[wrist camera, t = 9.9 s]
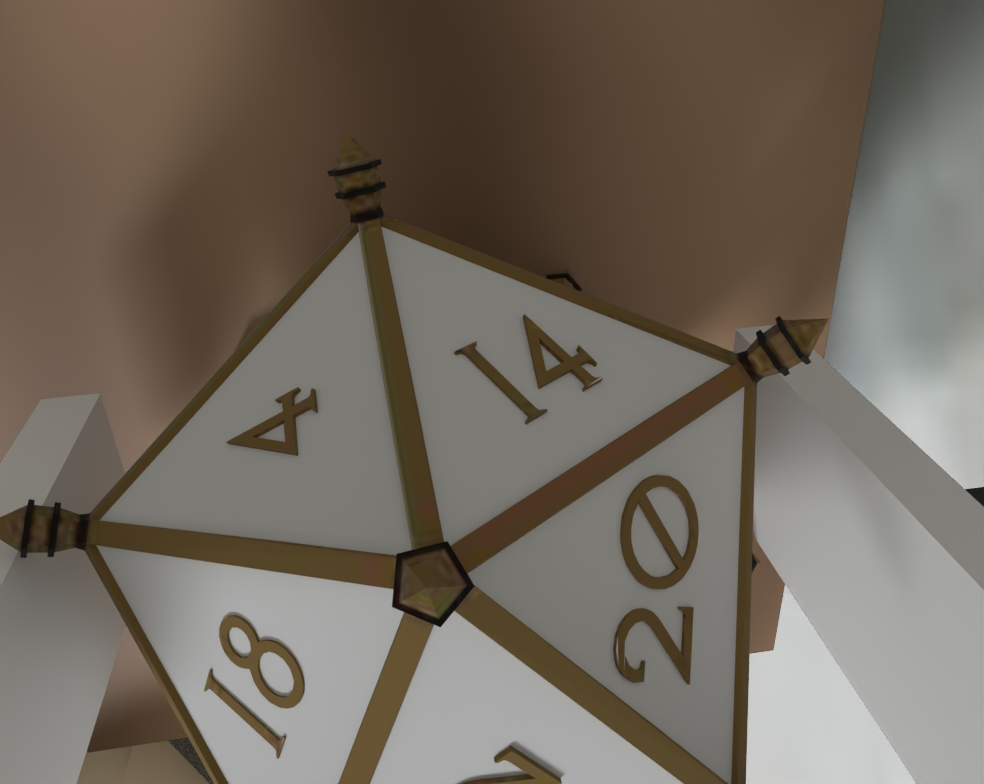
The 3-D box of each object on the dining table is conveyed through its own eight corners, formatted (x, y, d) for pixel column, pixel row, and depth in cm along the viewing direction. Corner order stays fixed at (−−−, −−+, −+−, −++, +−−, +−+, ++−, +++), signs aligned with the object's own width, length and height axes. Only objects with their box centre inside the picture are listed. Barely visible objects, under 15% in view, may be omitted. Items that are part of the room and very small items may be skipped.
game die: (346, 226, 16) (120, -227, 6) (769, 395, 16) (1259, 203, 6) (143, 682, 15) (-538, 1033, 5) (594, 874, 15) (831, 1666, 5)
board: (106, 692, 18) (88, 752, 16) (-176, -70, 11) (-246, -68, 10) (744, 601, 19) (773, 649, 18) (846, -111, 13) (905, -115, 11)
